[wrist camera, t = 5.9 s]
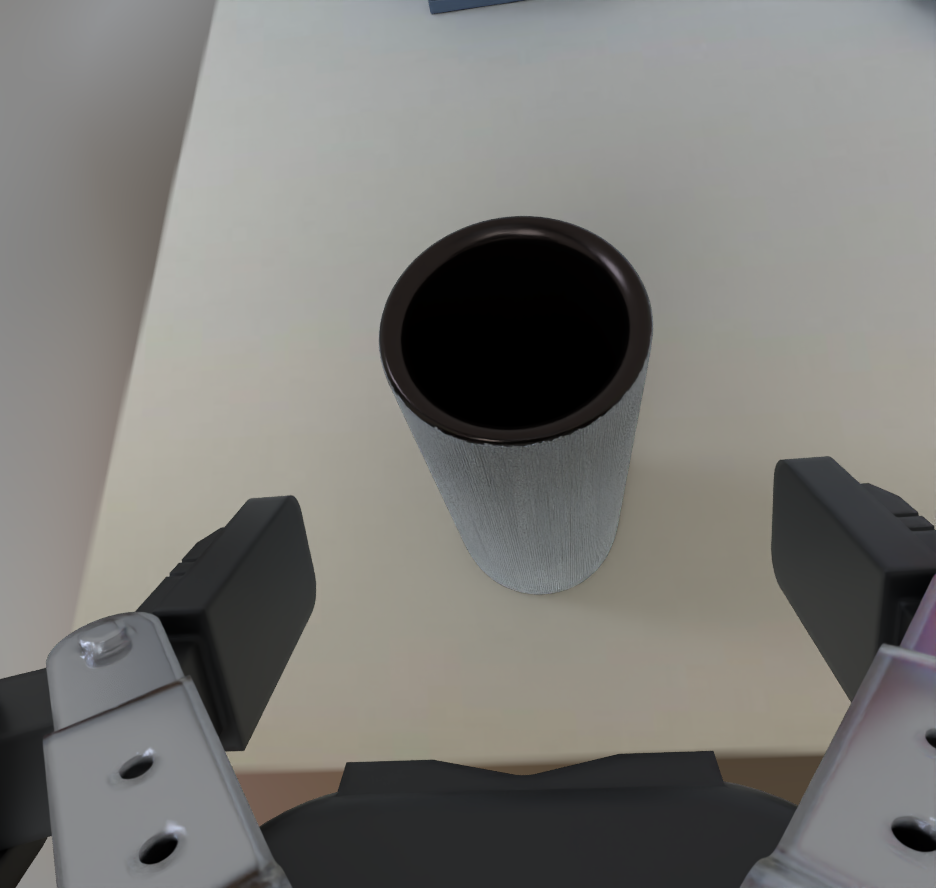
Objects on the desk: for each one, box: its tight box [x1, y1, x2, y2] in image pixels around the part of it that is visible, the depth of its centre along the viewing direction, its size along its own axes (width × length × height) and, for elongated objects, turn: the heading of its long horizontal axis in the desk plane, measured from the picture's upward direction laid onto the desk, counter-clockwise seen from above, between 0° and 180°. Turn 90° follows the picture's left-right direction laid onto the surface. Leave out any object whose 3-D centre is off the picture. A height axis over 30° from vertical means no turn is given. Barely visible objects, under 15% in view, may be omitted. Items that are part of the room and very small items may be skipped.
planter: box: [379, 216, 653, 594], centre depth 16 cm, size 4×4×10 cm
